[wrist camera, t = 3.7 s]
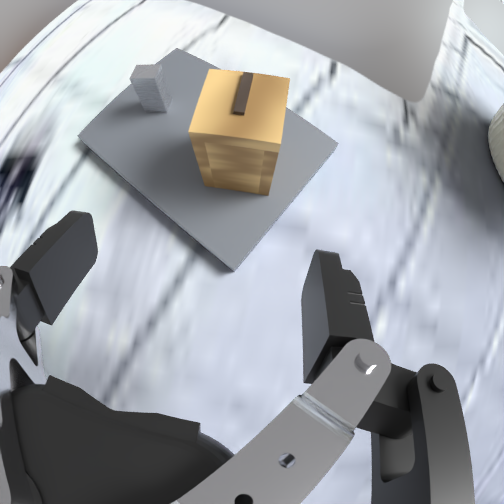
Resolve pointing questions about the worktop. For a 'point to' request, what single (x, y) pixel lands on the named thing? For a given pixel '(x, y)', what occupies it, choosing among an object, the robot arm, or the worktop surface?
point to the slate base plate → (186, 166)
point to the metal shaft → (151, 88)
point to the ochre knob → (239, 129)
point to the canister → (497, 141)
